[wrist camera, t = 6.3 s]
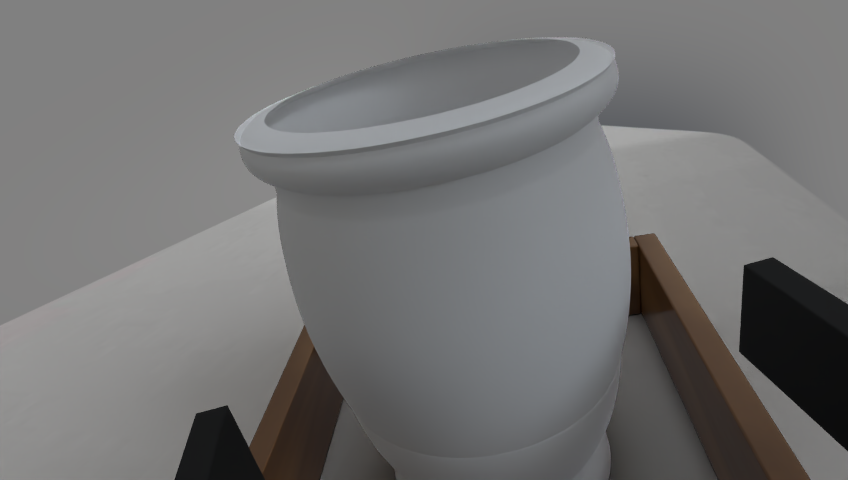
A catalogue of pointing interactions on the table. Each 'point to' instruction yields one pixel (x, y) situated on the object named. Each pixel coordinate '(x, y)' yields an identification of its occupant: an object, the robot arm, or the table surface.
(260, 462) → the wooden square frame
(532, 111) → the jar
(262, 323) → the table surface
